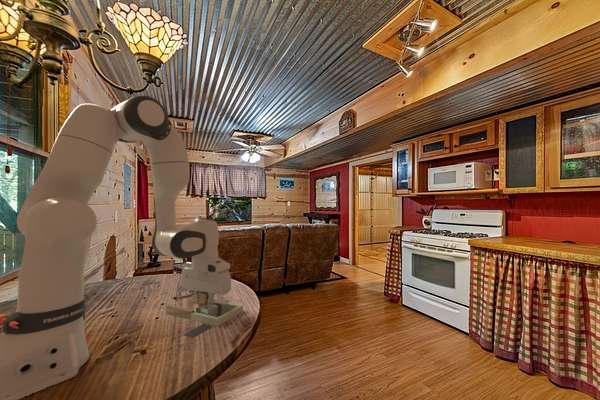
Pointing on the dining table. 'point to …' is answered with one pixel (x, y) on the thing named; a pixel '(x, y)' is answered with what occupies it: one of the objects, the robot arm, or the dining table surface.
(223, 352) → the dining table surface
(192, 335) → the pad
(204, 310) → the tan cube
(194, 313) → the open picture frame
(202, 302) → the wooden block with peg
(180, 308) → the slot rails
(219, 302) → the beige cube
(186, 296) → the claw hammer
